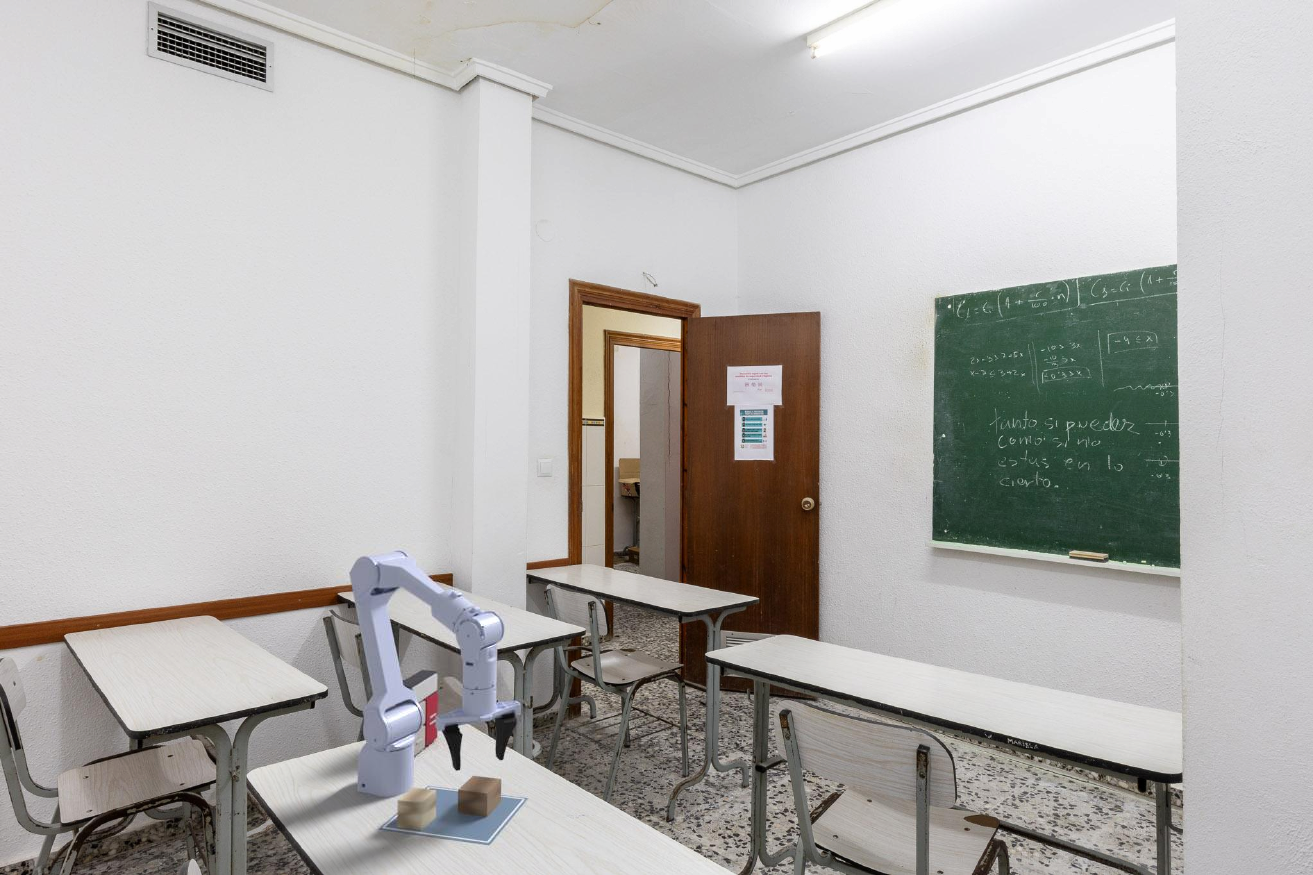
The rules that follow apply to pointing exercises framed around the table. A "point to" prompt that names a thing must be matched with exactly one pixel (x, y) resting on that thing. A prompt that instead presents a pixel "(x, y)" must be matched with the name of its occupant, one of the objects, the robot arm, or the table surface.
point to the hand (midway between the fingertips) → (478, 762)
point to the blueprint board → (462, 819)
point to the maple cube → (416, 809)
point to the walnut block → (479, 796)
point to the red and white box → (425, 705)
